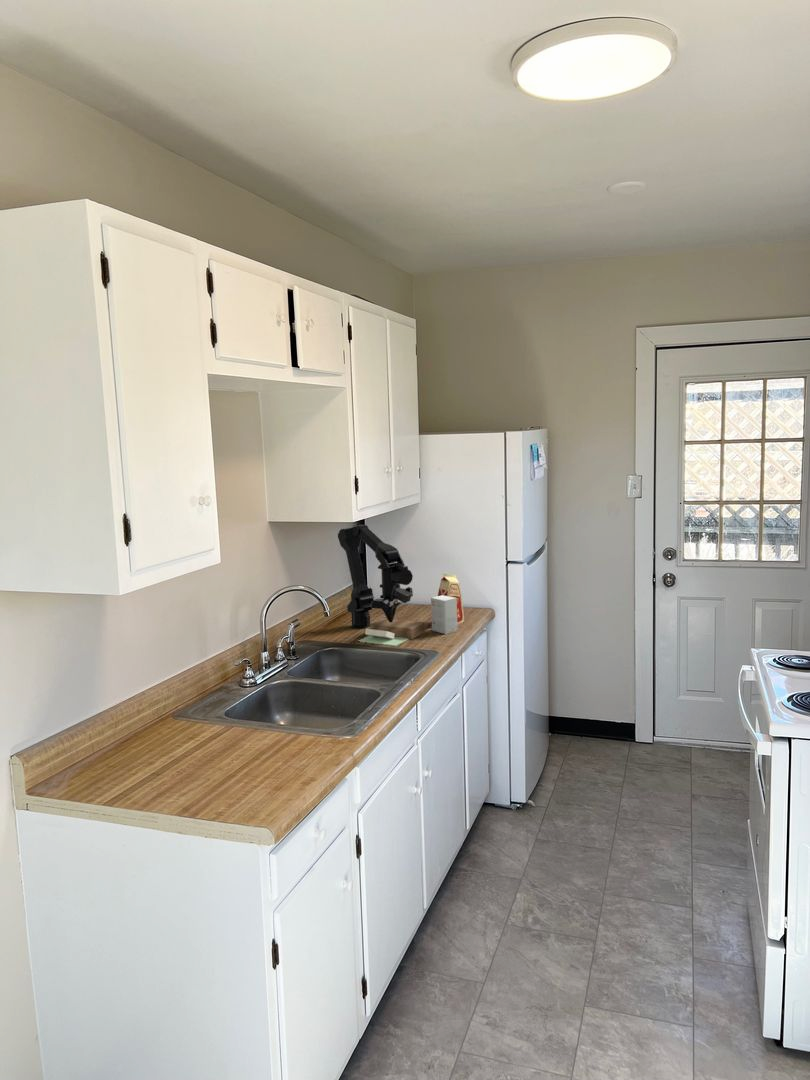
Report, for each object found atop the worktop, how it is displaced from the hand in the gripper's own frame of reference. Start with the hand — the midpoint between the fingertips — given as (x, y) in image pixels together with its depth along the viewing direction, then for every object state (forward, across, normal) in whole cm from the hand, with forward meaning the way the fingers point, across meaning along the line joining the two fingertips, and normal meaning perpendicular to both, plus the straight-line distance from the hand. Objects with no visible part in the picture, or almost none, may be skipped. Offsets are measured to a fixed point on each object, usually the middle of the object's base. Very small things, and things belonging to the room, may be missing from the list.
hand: (390, 622), depth 303 cm
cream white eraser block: (+2, -7, 0) cm, 8 cm away
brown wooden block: (+5, +3, -1) cm, 6 cm away
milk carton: (+5, +26, -12) cm, 29 cm away
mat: (+5, -8, -1) cm, 9 cm away
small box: (+5, +13, -16) cm, 21 cm away
